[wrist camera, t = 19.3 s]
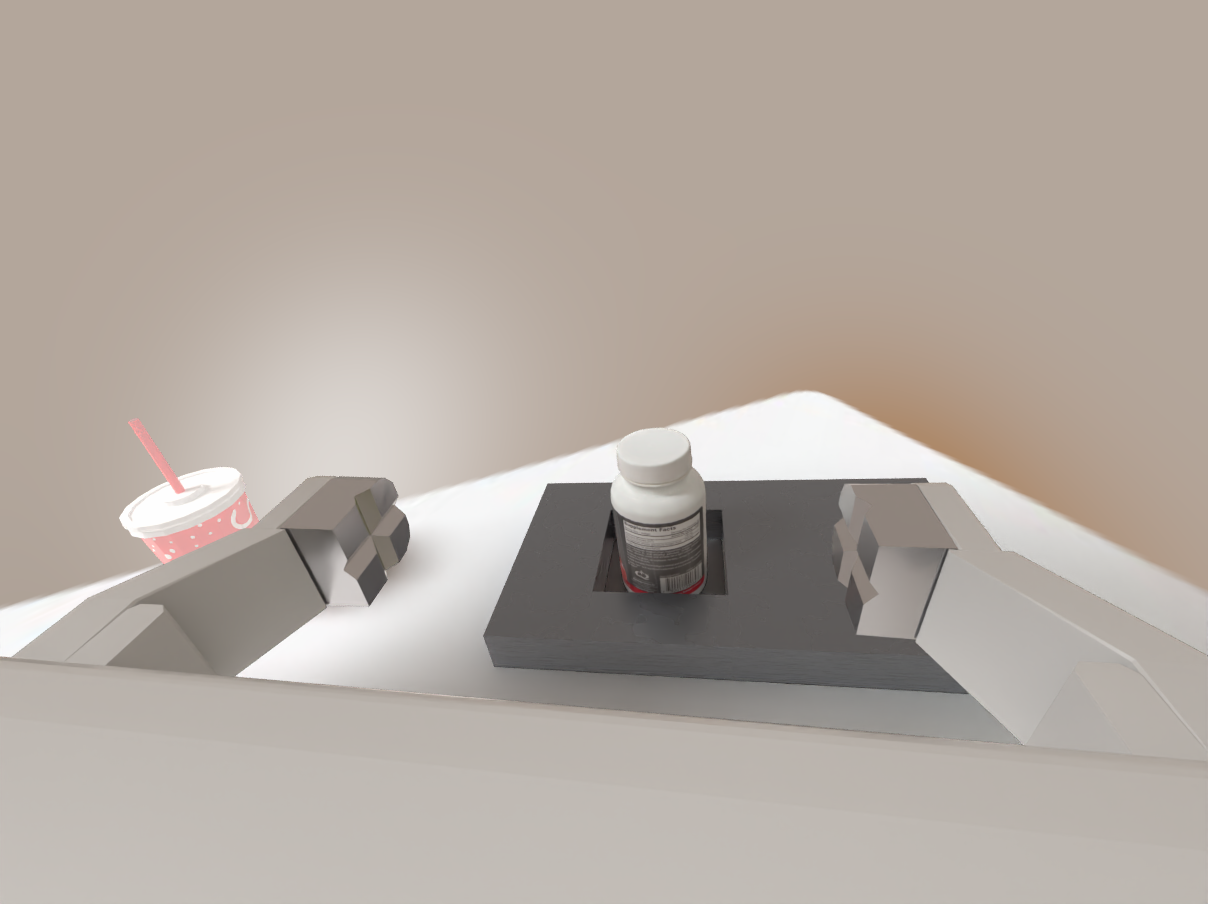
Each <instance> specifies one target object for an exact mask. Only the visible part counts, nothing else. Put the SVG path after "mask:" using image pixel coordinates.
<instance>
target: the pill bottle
mask: <svg viewBox="0 0 1208 904" xmlns="http://www.w3.org/2000/svg"><path fill="white" fill-rule="evenodd" d="M617 466H618V469H619V471H620V473H619V474H618V475H617V476H616V478H615V479H614V481H613V483H612V487H611V505H612V510H613V516H614V522H615V529H616V536H617V543H618V552H619V558H620V566H621V572H622V578H623V582H624V585H625V587H626V589H627V591H628V592H635V593H673V594H699V593H700V592H701V591H702V590H703V588H704V586H705V584H706V580H707V532H706V491H705V484H704V481H703V479H702V477H701V476H700V474H699V473H698V472H697V471H696V470H695V469H694V468H693V467H692V456H691V446H690V442H689V440H688V438H687V437H686V436H685V435H684V434H682V433H680V432H678V431H675V430H672V429H665V428H650V429H643V430H639V431H636V432H633V433H631V434H629V435H627V436H626V437H624V438H623V439H622V440H621V441H620V442H619V444H618V446H617Z"/></svg>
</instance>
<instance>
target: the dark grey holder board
mask: <svg viewBox="0 0 1208 904" xmlns="http://www.w3.org/2000/svg"><path fill="white" fill-rule="evenodd" d="M911 483H929V482H928V481H927V479H926V478H902V479H832V480H763V481H704V484H705V491H706V532H707V539H722V548H723V562H724V576H725V590H726V595H710V594H673V593H635V592H604V590H605V584H606V579H607V574H608V569H609V564H610V559H611V554H612V549H613V544H614V539H615V538H617V536H616V529H615V522H614V516H613V510H612V505H611V487H612V483H555V484H547V486H546V489H545V491H544V494H543V496H542V498H541V501H540V503H539V505H538V508H537V510H536V512H535V515H534V517H533V520H532V522H531V524H530V527H529V529H528V531H527V534H526V536H525V538H524V541H523V543H522V546H521V548H520V550H519V553H518V555H517V557H516V560H515V562H514V564H513V567H512V569H511V572H510V574H509V576H508V579H507V581H506V583H505V586H504V588H503V591H502V593H501V595H500V598H499V600H498V602H497V605H496V607H495V609H494V612H493V614H492V617H491V619H490V621H489V624H488V626H487V628H486V631H485V633H484V635H483V636H484V639H485V642H486V645H487V648H488V650H489V653H490V656H491V659H492V662H493V664H494V666H496V667H513V668H531V669H548V670H566V671H583V672H601V673H618V674H636V675H653V676H671V677H688V678H705V679H723V680H740V681H758V682H775V683H793V684H810V685H828V686H845V687H863V688H880V689H898V690H915V691H933V692H950V693H968V694H970V693H969V692H967V691H966V690H965V689H964V688H963V687H962V686H961V685H960V684H959V683H958V682H957V681H956V680H955V679H954V678H953V677H952V676H951V675H950V674H949V673H948V672H946V671H945V670H944V669H943V668H942V667H941V666H940V665H939V664H938V663H937V662H936V661H935V660H934V659H933V658H932V657H931V656H930V655H929V654H928V653H926V652H925V651H924V650H923V649H922V648H921V647H920V646H919V645H918V644H917V643H916V639H904V638H892V637H880V636H867V635H856V633H855V630H854V627H853V624H852V621H851V618H850V615H849V612H848V609H847V606H846V603H845V597H846V593H847V587H846V586H845V585H843V584H842V583H841V582H840V581H838V579H837V576H836V573H835V570H834V565H833V559H832V537H833V530H834V525H835V524H836V523H837V522H838V521H840V520H841V519H842V518H843V515H842V512H841V509H840V507H839V499H840V494H841V491H842V489H843V487H844V484H911Z"/></svg>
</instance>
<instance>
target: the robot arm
mask: <svg viewBox="0 0 1208 904" xmlns="http://www.w3.org/2000/svg"><path fill="white" fill-rule="evenodd" d="M397 498H398V494H397V491H396V489H395V487H394V484H393V482H391V481H389V480H388V479H386V478H370V477H369V478H368V477H336V476H316V477H312V478H307V479H306V480H305V481H304V482H303V483H302V484H300V485H299V486H298V487H297V488H296V489H295V490H294V491H293V492H292V493H290V494H289V495H288V496H287V497H286V498H285V499H284V500H283V501H282V502H280V503H279V504H278V505H277V506H276V507H275V508H274V509H273V510H271V511H270V512H269V513H268V514H267V515H266V516H265V517H264V518H262V519H261V520H260V521H259V522H258V523H257V524H256V525H255V526H253V527H252V528H243V529H241V530H239V531H236V532H234V533H232V534H230V535H227V536H225V537H223V538H221V539H219V540H216V541H214V542H212V543H210V544H207V545H205V546H203V547H201V548H198V549H196V550H194V551H192V552H190V553H187V554H185V555H183V556H181V557H178V558H176V559H174V560H172V561H169V562H167V563H165V564H163V565H161V566H158V567H156V568H154V569H152V570H149V571H147V572H145V573H143V574H140V575H138V576H136V577H134V578H132V579H129V580H127V581H125V582H123V583H120V584H118V585H116V586H114V587H111V588H109V589H107V590H105V591H103V592H100V593H98V594H96V595H94V596H91V597H89V598H87V599H86V600H85V601H83V602H82V603H81V604H80V605H78V606H77V607H76V608H74V609H73V610H72V611H70V612H69V613H68V614H67V615H65V616H64V617H63V618H61V619H60V620H59V621H58V622H56V623H55V624H54V625H52V626H51V627H50V628H48V629H47V630H46V631H45V632H43V633H42V634H41V635H39V636H38V637H37V638H36V639H34V640H33V641H32V642H30V643H29V644H28V645H26V646H25V647H24V648H23V649H21V650H20V651H19V652H17V653H16V654H15V655H14V656H12V657H0V904H1208V655H1206V654H1204V653H1202V652H1200V651H1198V650H1196V649H1195V648H1193V647H1191V646H1189V645H1187V644H1185V643H1183V642H1182V641H1180V640H1178V639H1176V638H1174V637H1172V636H1170V635H1168V634H1167V633H1165V632H1163V631H1161V630H1159V629H1157V628H1155V627H1154V626H1152V625H1150V624H1148V623H1146V622H1144V621H1142V620H1140V619H1139V618H1137V617H1135V616H1133V615H1131V614H1129V613H1127V612H1126V611H1124V610H1122V609H1120V608H1118V607H1116V606H1114V605H1112V604H1111V603H1109V602H1107V601H1105V600H1103V599H1101V598H1099V597H1097V596H1096V595H1094V594H1092V593H1090V592H1088V591H1086V590H1084V589H1083V588H1081V587H1079V586H1077V585H1075V584H1073V583H1071V582H1069V581H1068V580H1066V579H1064V578H1062V577H1060V576H1058V575H1056V574H1055V573H1053V572H1051V571H1049V570H1047V569H1045V568H1043V567H1041V566H1040V565H1038V564H1036V563H1034V562H1032V561H1030V560H1028V559H1026V558H1025V557H1023V556H1021V555H1019V554H1017V553H1015V552H1010V551H1001V549H1000V548H999V547H998V545H997V544H996V543H995V541H994V540H993V539H992V537H991V536H990V535H989V533H988V532H987V531H986V529H985V528H984V527H983V525H982V524H981V523H980V522H979V520H978V519H977V518H976V516H975V515H974V514H973V512H972V511H971V510H970V508H969V507H968V506H967V504H966V503H965V502H964V500H963V499H962V498H961V496H960V495H959V494H958V493H957V491H956V490H955V489H954V487H953V486H951V485H949V484H947V483H911V484H844V487H843V489H842V491H841V494H840V499H839V507H840V509H841V512H842V515H843V518H842V519H841V520H840V521H838V522H837V523H836V524H835V525H834V530H833V537H832V559H833V565H834V570H835V573H836V576H837V579H838V581H840V582H841V583H842V584H843V585H845V586H846V587H847V593H846V597H845V603H846V606H847V609H848V612H849V615H850V618H851V621H852V624H853V627H854V630H855V633H856V635H867V636H880V637H892V638H904V639H916V643H917V644H918V645H919V646H920V647H921V648H922V649H923V650H924V651H925V652H926V653H928V654H929V655H930V656H931V657H932V658H933V659H934V660H935V661H936V662H937V663H938V664H939V665H940V666H941V667H942V668H943V669H944V670H945V671H946V672H948V673H949V674H950V675H951V676H952V677H953V678H954V679H955V680H956V681H957V682H958V683H959V684H960V685H961V686H962V687H963V688H964V689H965V690H966V691H967V692H969V693H970V694H971V695H972V696H973V697H974V698H975V699H976V700H977V701H978V702H979V703H980V704H981V705H982V706H983V707H984V708H985V709H986V710H987V711H989V712H990V713H991V714H992V715H993V716H994V717H995V718H996V719H997V720H998V721H999V722H1000V723H1001V724H1002V725H1003V726H1004V727H1005V728H1006V729H1007V730H1009V731H1010V732H1011V733H1012V734H1013V735H1014V736H1015V737H1016V738H1017V739H1018V740H1019V741H1020V742H1021V743H1022V744H1023V745H1017V744H1005V743H994V742H983V741H971V740H960V739H948V738H937V737H925V736H914V735H902V734H891V733H879V732H868V731H856V730H845V729H833V728H822V727H810V726H799V725H787V724H775V723H764V722H752V721H741V720H729V719H717V718H706V717H694V716H683V715H671V714H659V713H648V712H636V711H625V710H613V709H601V708H590V707H578V706H567V705H555V704H544V703H532V702H521V701H509V700H498V699H486V698H475V697H463V696H452V695H440V694H429V693H417V692H406V691H394V690H383V689H371V688H359V687H348V686H336V685H325V684H313V683H302V682H290V681H279V680H267V679H255V678H244V677H235V676H236V675H237V674H239V673H240V672H241V671H243V670H244V669H245V668H247V667H248V666H249V665H251V664H252V663H253V662H255V661H256V660H257V659H259V658H260V657H261V656H263V655H264V654H265V653H267V652H268V651H269V650H271V649H272V648H273V647H275V646H276V645H277V644H279V643H280V642H282V641H283V640H284V639H286V638H287V637H288V636H290V635H291V634H292V633H294V632H295V631H296V630H298V629H299V628H300V627H302V626H303V625H304V624H306V623H307V622H308V621H310V620H311V619H312V618H314V617H315V616H316V615H318V614H319V613H320V612H322V611H323V610H324V609H326V608H327V607H326V605H328V606H365V607H369V606H370V605H371V603H372V602H373V600H374V599H375V597H376V596H377V594H378V593H379V591H380V590H381V588H382V587H383V586H384V584H385V583H386V581H387V580H388V579H387V573H386V570H388V569H389V568H391V567H392V566H394V565H395V564H397V563H399V562H400V560H401V559H402V557H403V556H404V554H405V552H406V551H407V546H408V542H409V538H410V532H409V524H408V521H407V518H406V515H405V514H404V513H403V512H402V511H401V510H399V509H398V508H397V507H396V506H395V503H396V501H397Z"/></svg>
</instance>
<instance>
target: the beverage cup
mask: <svg viewBox="0 0 1208 904" xmlns="http://www.w3.org/2000/svg"><path fill="white" fill-rule="evenodd" d="M128 423H129V424H130V425H131V427H132V428H133V430H134V432H135V433H136V435H137V436H138V437H139V439H140V440H141V442H142V443H143V445H144V446H145V448H146V449H147V451H148V452H149V454H150V455H151V457H152V458H153V460H154V461H155V463H156V464H157V466H158V467H159V469H160V470H161V472H162V473H163V475H164V476H165V478H166V479H167V481H168V482H166V483H163V484H161V485H159V486H157V487H155V488H154V489H152V490H150V491H148V492H146V493H145V494H143V495H141V496H140V497H138V498H137V499H136V500H135V501H133V502H132V503H131V504H129V505H128V506H127V507H126V508H125V510H124V511H123V513H122V514H121V516H120V517H119V519H120V521H121V523H122V525H123V526H124V528H125V529H127V530H129V532H130V534H131V536H135V537H139V538H141V539H142V540H143V541H144V542H145V543H146V545H147V546H148V547H149V548H150V549H151V550H152V551H153V553H154V554H155V555H156V556H157V557H158V558H159V559H160V560H161V562H162V563H163V564H165V563H167V562H169V561H172V560H174V559H176V558H178V557H181V556H183V555H185V554H187V553H190V552H192V551H194V550H196V549H198V548H201V547H203V546H205V545H207V544H210V543H212V542H214V541H216V540H219V539H221V538H223V537H225V536H227V535H230V534H232V533H234V532H236V531H239V530H241V529H243V528H252V527H253V526H255V525H256V524H257V523H258V522H259V520H258V518H257V516H256V514H255V512H254V510H253V508H252V506H251V504H250V502H249V500H248V498H247V496H246V494H245V492H244V490H245V486H246V484H245V483H244V482H243V481H242V478H243V477H242V475H241V474H240V473H239V472H238V471H237V470H236V469H235V468H227V467H219V468H211V469H204V470H200V471H197V472H193V473H190V474H186V475H183V476H180V477H178V478H177V477H176V475H175V473H174V472H173V470H172V469H171V467H170V466H169V464H168V463H167V461H166V460H165V459H164V457H163V455H162V454H161V452H160V451H159V449H158V448H157V446H156V444H155V443H154V441H153V440H152V438H151V437H150V435H149V434H148V432H147V431H146V429H145V428H144V426H143V425H142V423H141V422H140V420H139V419H138V418H135V419H131V420H129V421H128Z"/></svg>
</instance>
